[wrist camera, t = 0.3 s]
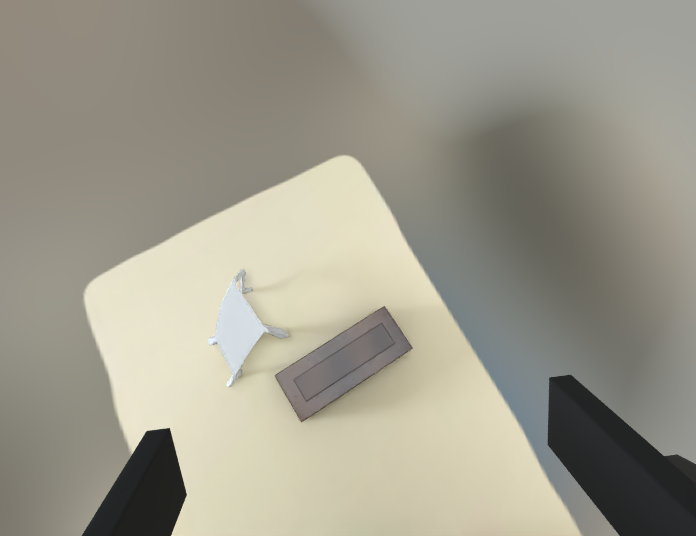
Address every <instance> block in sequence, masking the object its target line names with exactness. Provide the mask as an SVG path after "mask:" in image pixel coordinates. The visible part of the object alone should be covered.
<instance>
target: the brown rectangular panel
mask: <svg viewBox="0 0 696 536" xmlns="http://www.w3.org/2000/svg"><path fill="white" fill-rule="evenodd" d="M411 349H412V346H411V345H410V343H409V342H408V340H407V339H406V337H405V336H404V334H403V333H402V331H401V330H400V328H399V327H398V325H397V324H396V322H395V321H394V319H393V318H392V316H391V315H390V313H389V312H388V310H387V309H386V307H385V306H384V307H382V308H381V309H379V310H377V311H376V312H374V313H373V314H371V315H370V316H368V317H366V318H365V319H363V320H362V321H360V322H358V323H357V324H355V325H354V326H352V327H351V328H349V329H347V330H346V331H344V332H343V333H341V334H340V335H338V336H336V337H335V338H333V339H332V340H330V341H328V342H327V343H325V344H324V345H322V346H321V347H319V348H317V349H316V350H314V351H313V352H311V353H309V354H308V355H306V356H305V357H303V358H302V359H300V360H298V361H297V362H295V363H294V364H292V365H291V366H289V367H287V368H286V369H284V370H283V371H281V372H279V373H278V374H276V375H275V377H276V379H277V381H278V382H279V384H280V386H281V388H282V389H283V391H284V393H285V395H286V396H287V398H288V400H289V402H290V403H291V405H292V407H293V409H294V410H295V412H296V414H297V416H298V417H299V419H300V421H301V422H303V421H304V420H306V419H307V418H309V417H310V416H312V415H313V414H315V413H316V412H318V411H319V410H321V409H322V408H324V407H325V406H327V405H328V404H330V403H331V402H333V401H334V400H336V399H337V398H339V397H340V396H342V395H343V394H345V393H346V392H348V391H349V390H351V389H352V388H354V387H355V386H357V385H358V384H360V383H361V382H363V381H364V380H366V379H367V378H369V377H370V376H372V375H373V374H375V373H376V372H378V371H379V370H381V369H382V368H384V367H385V366H387V365H388V364H390V363H391V362H393V361H394V360H396V359H397V358H399V357H400V356H402V355H403V354H405V353H406V352H408V351H409V350H411Z"/></svg>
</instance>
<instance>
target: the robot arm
mask: <svg viewBox="0 0 696 536" xmlns="http://www.w3.org/2000/svg"><path fill="white" fill-rule="evenodd" d="M548 416H549V417H548V446H549V447H550V448H551V449H552V451H553V452H554V453H555V454H556V456H557V457H558V458H559V459H560V461H561V462H562V463H563V465H564V466H565V467H566V468H567V470H568V471H569V472H570V473H571V475H572V476H573V477H574V478H575V480H576V481H577V482H578V484H579V485H580V486H581V487H582V489H583V490H584V491H585V492H586V494H587V495H588V496H589V497H590V499H591V500H592V501H593V502H594V504H595V505H596V506H597V508H598V509H599V510H600V511H601V512H602V514H603V515H604V516H605V518H606V519H607V520H608V521H609V523H610V524H611V525H612V526H613V528H614V529H615V530H616V532H617V533H618V534H619V535H620V536H696V464H694V463H692V462H691V461H688V460H687V459H685V458H683V457H681V456H679V455H671V456H663V455H662V454H661V453H660V452H658V450H656V449H655V448H654V447H653V446H652V445H651V444H649V443H648V442H647V441H646V440H645V439H644V438H643V437H641V436H640V435H639V434H638V433H637V432H636V431H635V430H633V429H632V428H631V427H630V426H629V425H628V424H626V423H625V422H624V421H623V420H622V419H621V418H620V417H618V416H617V415H616V414H615V413H614V412H613V411H612V410H611V409H609V408H608V407H607V406H605V404H604V403H602V402H601V401H600V400H599V399H598V398H597V397H596V396H594V395H593V394H592V393H591V392H590V391H589V390H588V389H586V388H585V387H584V386H583V385H582V384H581V383H579V382H578V381H577V380H576V379H575V378H574V377H573V376H571V375H566V376H558V377H551V378H549V415H548ZM186 495H187V494H186V490H185V486H184V482H183V478H182V474H181V470H180V466H179V462H178V459H177V455H176V451H175V447H174V443H173V439H172V435H171V431H170V428H167V429H159V430H152V431H147V432H146V433H145V435H144V436H143V438H142V440H141V441H140V443H139V444H138V446H137V448H136V449H135V451H134V452H133V454H132V456H131V457H130V459H129V461H128V462H127V464H126V466H125V467H124V469H123V470H122V472H121V473H120V475H119V477H118V478H117V480H116V481H115V483H114V485H113V486H112V488H111V490H110V491H109V493H108V494H107V496H106V498H105V499H104V501H103V502H102V504H101V506H100V507H99V509H98V510H97V512H96V514H95V515H94V517H93V518H92V520H91V522H90V524H89V525H88V527H87V528H86V530H85V531H84V533H83V535H82V536H171V534H172V532H173V529H174V526H175V524H176V521H177V519H178V516H179V513H180V511H181V508H182V506H183V503H184V501H185V498H186Z"/></svg>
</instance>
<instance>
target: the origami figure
mask: <svg viewBox="0 0 696 536" xmlns="http://www.w3.org/2000/svg"><path fill="white" fill-rule="evenodd" d="M239 279H240V285H241V292H240V290H239V289H238V288H237V286H236V282H237V281H238V280H239ZM244 285H245V269H242V270H240V271H239V272H238V273H237V275H236V276H235V277H234V279H233V280H232V282H231V284H230V286H229V288H228V290H227V292H226V295H225V297H224V299H223V301H222V303H221V305H220V311H219V316H218V321H217V327H216V333H215V335H214V336H212V337H210V338H209V339H208V342H209V345H215V344H218V345H219V347H220V349H221V351H222V353H223V355H224V357H225V359H226V361H227V363H228V365H229V367H230V369H231V371H232V376H231V378H230V380H229V381H228V382H227V383H226V385H227V387H231V386H232V385H233V384H234V382H235V381H236V379H237V378H240V376H241V373H242V370H241V366H242V364H243V362H244V361H245V359H246V357H247V355H248V353H249V352H250V350H251V349H252V347H253V346H254V345H255V343H256V342H257V341H258V339H259V338H260V337H261V335H262V334H263V332H267V333H269V334H271V335H273V336H275V337H278V338H280V339H281V338H283V337H284V338H287V337H290V336H289V335H288V334H287V332H286V331H285V330H284V329H281V328H277V327H272V326H268V325H264V324H262V323H261V321H260V320H259V318H258V317H257V315H256V314H255V313H254V311H253V310H252V308H251V307H250V305H249V304H248V302H247V301H246V299H245V298H244V296H243V295H242V294H244V293H248V292H251V291H253V290H252V287H249V288H245V289H244Z"/></svg>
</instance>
